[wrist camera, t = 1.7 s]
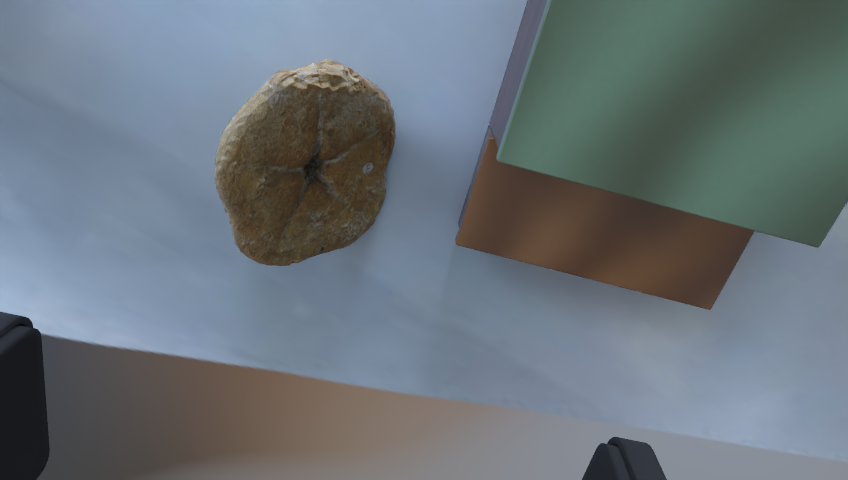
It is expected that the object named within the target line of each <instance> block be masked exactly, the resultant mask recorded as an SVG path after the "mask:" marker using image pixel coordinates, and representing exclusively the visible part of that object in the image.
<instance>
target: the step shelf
mask: <svg viewBox="0 0 848 480" xmlns="http://www.w3.org/2000/svg"><path fill="white" fill-rule="evenodd" d="M847 201H848V0H528V2H527V5H526V8H525V11H524V14H523V18H522V21H521V24H520V27H519V30H518V34H517V37H516V40H515V43H514V46H513V50H512V53H511V56H510V59H509V62H508V66H507V69H506V72H505V75H504V78H503V81H502V85H501V88H500V91H499V94H498V97H497V101H496V104H495V107H494V110H493V113H492V117H491V120H490V125H489V126H488V129H487V133H486V136H485V139H484V142H483V145H482V149H481V152H480V155H479V158H478V161H477V164H476V168H475V171H474V174H473V177H472V180H471V184H470V187H469V190H468V193H467V196H466V200H465V203H464V206H463V209H462V212H461V216H460V219H459V222H458V223H459V230H458V233H457V236H456V239H455V240H456V245H459V246H463V247H467V248H471V249H475V250H479V251H483V252H486V253H490V254H494V255H498V256H502V257H506V258H510V259H514V260H518V261H522V262H525V263H529V264H533V265H537V266H541V267H545V268H549V269H553V270H557V271H561V272H564V273H568V274H572V275H576V276H580V277H584V278H588V279H592V280H596V281H600V282H603V283H607V284H611V285H615V286H619V287H623V288H627V289H631V290H635V291H639V292H642V293H646V294H650V295H654V296H658V297H662V298H666V299H670V300H674V301H678V302H681V303H685V304H689V305H693V306H697V307H701V308H705V309H709V310H710V309H711V308H712V306H713V304H714V303H715V301H716V299H717V297H718V295H719V294H720V292H721V290H722V288H723V287H724V285H725V283H726V281H727V279H728V278H729V276H730V274H731V272H732V270H733V269H734V267H735V265H736V263H737V261H738V260H739V258H740V256H741V254H742V253H743V251H744V249H745V247H746V245H747V244H748V242H749V240H750V238H751V236H752V235H753V233H754V231H758V232H761V233H765V234H769V235H772V236H776V237H780V238H784V239H787V240H791V241H795V242H798V243H802V244H806V245H810V246H813V247H819V246H820V245H821V243H822V241H823V240H824V238H825V237H826V235H827V233H828V232H829V230H830V229H831V227H832V225H833V224H834V222H835V220H836V219H837V217H838V216H839V214H840V212H841V211H842V209H843V208H844V206H845V204H846V203H847Z"/></svg>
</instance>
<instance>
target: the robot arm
mask: <svg viewBox="0 0 848 480" xmlns="http://www.w3.org/2000/svg"><path fill="white" fill-rule="evenodd" d="M48 457H49V436H48V422H47V410H46V395H45V381H44V368H43V354H42V341H41V334H40V332H39V330H38V329H35V328H33V324H32V322H31V321H30V319H29V318H26V317H23V316H18V315H13V314H8V313H3V312H0V480H36V479H37V478H38V477H39V475H40V474H41V472H42V471H43V469H44V468H45V466H46V463H47V461H48ZM582 480H667V479H666V477H665V475H664V473H663V471H662V468H661V466H660V464H659V462H658V460H657V458H656V455H655V453H654V451H653V449H652V448H651V446H650V445H648V444H647V443H643V442H638V441H633V440H628V439H623V438H619V437H613V438H611V439H610V440H609V441H608V443H607V444H604V443H602V444H600V445H599V446H598V447H597V449H596V451H595V453H594V455H593V458H592V459H591V461H590V464H589V466H588V468H587V470H586V472H585V474H584V476H583V479H582Z"/></svg>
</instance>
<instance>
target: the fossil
mask: <svg viewBox="0 0 848 480" xmlns="http://www.w3.org/2000/svg"><path fill="white" fill-rule="evenodd" d="M394 143H395V120H394V110H393V108H392V106H391V104H390V100H389V99H388V97H387V96H386V94H385V93H384V92H383V91H382V90H381V89H379V88H378V87H377V86H376V85H375V84H374V83H372V82H371V81H369V80H367V79H366V78H364V77H363V76H361V75H360V74H359V73H357V72H356V71H354V70H352V69H350V68H348V67H347V66H346V65H343V64H340V63H337V62H334V61H331V60H329V59H325V60H323V61H320V62H316V63H311V64H310V65H309V66H308V65H307V66H304V67H302V68H299V69H297V70H281V71H278V72H277V73H275V74H273V75H272V76H271V77H270V78H269V79H268V80H267V81H266V82H265V84H264V85H263V86H262V87H261V88H260V89H259V90H258V91H257V92H256V93H255V94H254V95H253V96H252V97H251V98H249V100H248V101H247V102H246V103H245V104H244V105H243V106H242V107H241V108H240V110H239V111H238V112H237V113H236V114H235V115H234V116H233V118H232V119H231V121H230V122H229V124H228V126H227V127H226V129H225V130H224V132H223V133H222V136H221V139H220V142H219V145H218V148H217V153H216V159H215V185H216V189H217V192H218V194H219V197H220V199H221V201H222V203H223V205H224V208H225V211H226V213H227V215H228V217H229V220H230V224H231V226H232V232H233V239H234V242H235V244H236V246H237V247H238V248H239V250H240V252H242V253H243V254H244V255H246V256H247V257H248V258H250V259H252V260H254V261H256V262H258V263H260V264H265V265H271V266H272V265H277V266H287V265H290V264H291V263H299V262H301V261H303V260H305V259H307V258H309V257H313V256H316V255H319V254H322V253H326V252H330V251H333V250H336V249H340V248H344V247H347V246H349V245H350V244H352V243H353V242H355V241H356V240H357V239H358V238H359V237H360V236H361V235H362V234H364V233H365V232H366V231H367V230H368V229H369V228H370V227H371V226H372V225H373V223H374V221H375V218H376V216H377V214H378V213H379V211H380V209H381V207H382V205H383V202H384V198H385V193H386V189H385V184H386V177H385V171H386V167H387V163H388V161H389V158H390V156H391V154H392V150H393V147H394Z"/></svg>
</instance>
